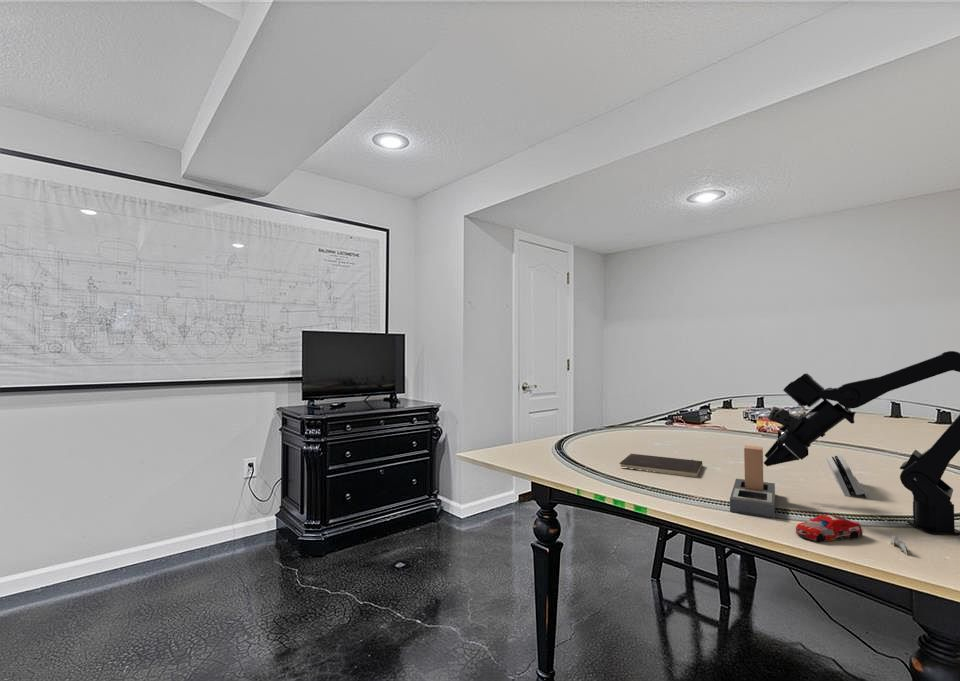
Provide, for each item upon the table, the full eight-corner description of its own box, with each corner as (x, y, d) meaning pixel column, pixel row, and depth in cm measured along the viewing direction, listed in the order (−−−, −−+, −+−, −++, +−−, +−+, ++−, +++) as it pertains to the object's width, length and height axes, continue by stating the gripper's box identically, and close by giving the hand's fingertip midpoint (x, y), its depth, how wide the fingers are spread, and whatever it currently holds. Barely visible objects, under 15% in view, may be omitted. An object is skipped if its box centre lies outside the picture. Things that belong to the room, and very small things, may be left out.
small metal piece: (920, 559, 86) (920, 544, 86) (904, 558, 87) (904, 542, 87) (904, 545, 92) (903, 531, 92) (889, 544, 92) (888, 529, 92)
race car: (810, 545, 92) (810, 524, 93) (789, 534, 98) (788, 515, 98) (868, 540, 94) (868, 520, 94) (844, 530, 100) (843, 511, 100)
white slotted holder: (869, 499, 118) (852, 460, 120) (847, 502, 121) (830, 464, 123) (857, 482, 133) (842, 448, 135) (838, 486, 135) (823, 452, 137)
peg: (763, 501, 118) (762, 449, 118) (745, 498, 120) (744, 448, 120) (763, 496, 121) (762, 446, 122) (746, 494, 123) (745, 445, 124)
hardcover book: (696, 479, 139) (696, 472, 140) (619, 469, 151) (619, 462, 151) (702, 467, 153) (702, 460, 153) (631, 459, 165) (631, 453, 165)
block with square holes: (774, 518, 106) (774, 504, 106) (730, 511, 111) (729, 497, 111) (775, 494, 123) (774, 482, 123) (736, 489, 128) (736, 477, 128)
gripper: (789, 393, 125) (742, 430, 131) (790, 400, 109) (737, 442, 115) (825, 425, 120) (775, 462, 126) (832, 437, 105) (775, 479, 110)
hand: (765, 460), depth 120 cm, fingers open, 9 cm apart
